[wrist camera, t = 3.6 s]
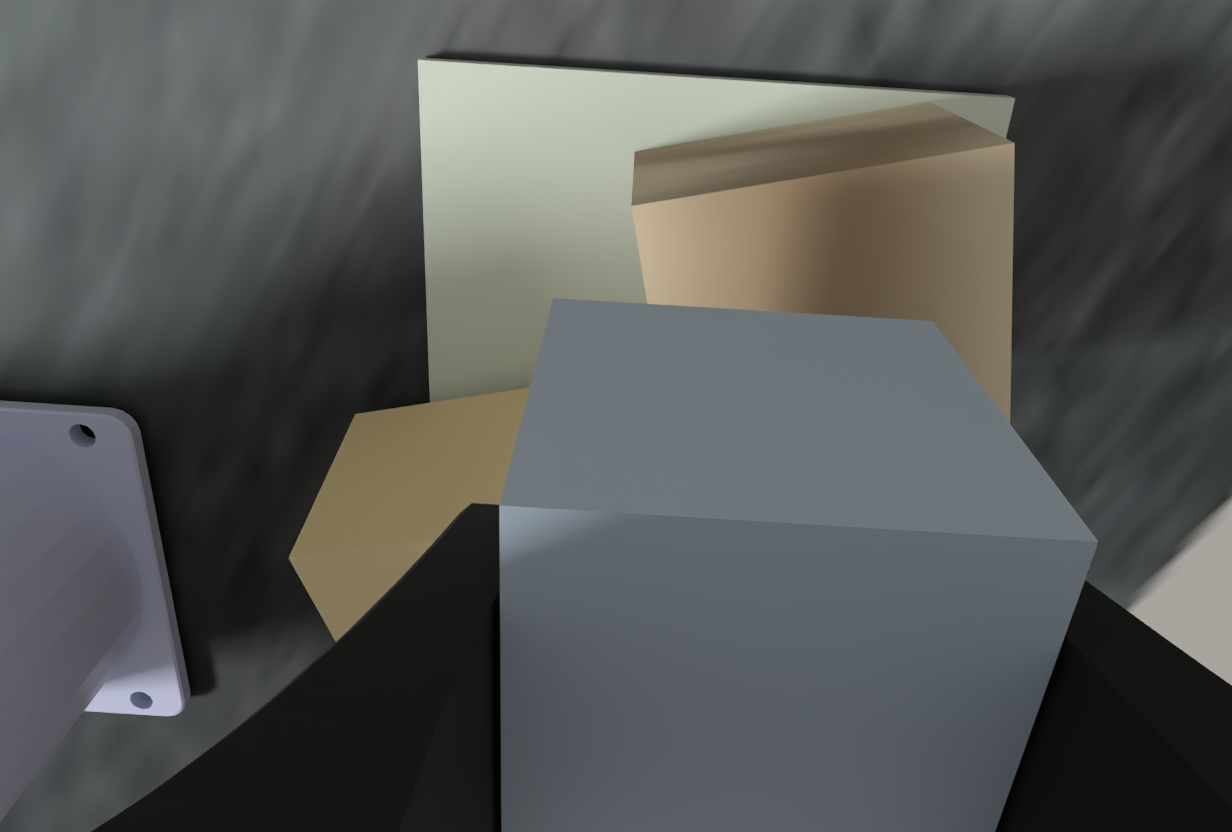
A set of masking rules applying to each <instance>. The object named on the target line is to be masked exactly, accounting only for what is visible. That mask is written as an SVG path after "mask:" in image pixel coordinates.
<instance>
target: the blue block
mask: <svg viewBox="0 0 1232 832" xmlns="http://www.w3.org/2000/svg"><path fill="white" fill-rule="evenodd" d="M499 539H500V694H501V832H995V831H996V828H997V825H998V822H999V819H1000V817H1001V814H1002V811H1003V808H1004V805H1005V803H1006V800H1007V797H1008V794H1009V791H1010V789H1011V786H1012V783H1013V780H1014V777H1015V775H1016V772H1017V769H1018V766H1019V763H1020V761H1021V758H1022V755H1023V752H1024V749H1025V747H1026V744H1027V741H1028V738H1029V735H1030V733H1031V730H1032V727H1033V724H1034V721H1035V719H1036V716H1037V713H1038V710H1039V707H1040V705H1041V702H1042V699H1043V696H1044V693H1045V691H1046V688H1047V685H1048V682H1049V679H1050V677H1051V674H1052V671H1053V668H1054V665H1055V663H1056V660H1057V657H1058V654H1059V651H1060V649H1061V646H1062V643H1063V640H1064V637H1065V635H1066V632H1067V629H1068V626H1069V623H1070V621H1071V618H1072V615H1073V612H1074V609H1075V607H1076V604H1077V601H1078V598H1079V595H1080V593H1081V590H1082V587H1083V584H1084V581H1085V579H1086V576H1087V573H1088V570H1089V567H1090V565H1091V562H1092V559H1093V556H1094V553H1095V551H1096V548H1097V545H1098V541H1097V539H1096V538H1095V537H1094V535H1093V534H1092V533H1091V531H1090V530H1089V529H1088V527H1087V526H1086V525H1085V523H1084V522H1083V521H1082V519H1081V518H1080V517H1079V515H1078V514H1077V513H1076V511H1075V510H1074V509H1073V507H1072V506H1071V505H1070V503H1069V502H1068V501H1067V499H1066V498H1065V497H1064V495H1063V494H1062V493H1061V491H1060V490H1059V489H1058V487H1057V486H1056V485H1055V483H1054V482H1053V481H1052V479H1051V478H1050V477H1049V475H1048V474H1047V473H1046V471H1045V470H1044V469H1043V467H1042V466H1041V465H1040V463H1039V462H1038V461H1037V459H1036V458H1035V457H1034V455H1033V454H1032V453H1031V451H1030V450H1029V449H1028V447H1027V446H1026V445H1025V443H1024V442H1023V441H1022V439H1021V438H1020V437H1019V435H1018V434H1017V433H1016V431H1015V430H1014V429H1013V427H1012V426H1011V425H1010V423H1009V422H1008V420H1007V419H1006V418H1005V416H1004V415H1003V414H1002V412H1001V411H1000V410H999V408H998V407H997V406H996V404H995V403H994V402H993V400H992V399H991V398H990V396H989V395H988V394H987V392H986V391H985V390H984V388H983V387H982V386H981V384H980V383H979V382H978V380H977V379H976V378H975V376H974V375H973V374H972V372H971V371H970V370H969V368H968V367H967V366H966V364H965V363H964V362H963V360H962V359H961V358H960V356H959V355H958V354H957V352H956V351H955V350H954V348H953V347H952V346H951V344H950V343H949V342H948V340H947V339H946V338H945V336H944V335H943V334H942V332H941V331H940V330H939V328H938V327H937V326H936V324H935V323H934V322H933V321H924V320H907V319H890V318H874V317H857V316H841V315H824V314H808V313H791V312H775V311H758V310H742V309H725V308H709V307H692V306H675V305H659V304H642V303H626V302H609V301H593V300H576V299H560V298H553V301H552V305H551V309H550V313H549V317H548V320H547V324H546V328H545V332H544V336H543V340H542V343H541V347H540V351H539V355H538V359H537V363H536V366H535V370H534V374H533V378H532V382H531V386H530V389H529V393H528V397H527V401H526V405H525V409H524V413H523V416H522V420H521V424H520V428H519V432H518V436H517V439H516V443H515V447H514V451H513V455H512V459H511V462H510V466H509V470H508V474H507V478H506V482H505V485H504V489H503V493H502V497H501V501H500V505H499Z"/></svg>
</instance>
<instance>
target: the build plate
mask: <svg viewBox="0 0 1232 832" xmlns="http://www.w3.org/2000/svg"><path fill="white" fill-rule="evenodd" d="M418 78H419V107H420V135H421V164H422V192H423V221H424V250H425V278H426V307H427V335H428V364H429V393H430V403H431V402H438V401H444V400H451V399H457V398H464V397H471V396H477V395H484V394H490V393H497V392H503V391H510V390H516V389H523V388H529V387H530V386H531V382H532V378H533V374H534V370H535V366H536V363H537V359H538V355H539V351H540V347H541V343H542V340H543V336H544V332H545V328H546V324H547V320H548V317H549V313H550V309H551V305H552V301H553V298H560V299H576V300H593V301H609V302H626V303H642V304H647V298H646V292H645V286H644V280H643V274H642V268H641V262H640V256H639V250H638V244H637V237H636V231H635V225H634V219H633V213H632V207H631V203H632V186H633V170H634V154H635V151H641V150H647V149H653V148H659V147H664V146H670V145H676V144H682V143H688V142H694V141H700V140H705V139H711V138H717V137H723V136H729V135H735V134H741V133H747V132H752V131H758V130H764V129H770V128H776V127H782V126H788V125H793V124H799V123H805V122H811V121H817V120H823V119H829V118H835V117H840V116H846V115H852V114H858V113H864V112H870V111H876V110H881V109H887V108H893V107H899V106H905V105H911V104H917V103H923V102H928V101H929V102H931V103H933V104H935V105H938V106H940V107H942V108H944V109H946V110H948V111H950V112H952V113H954V114H956V115H958V116H960V117H962V118H964V119H966V120H969V121H971V122H973V123H975V124H977V125H979V126H981V127H983V128H985V129H987V130H989V131H991V132H993V133H995V134H997V135H999V136H1002V137H1004V138H1006V136H1007V131H1008V127H1009V123H1010V119H1011V115H1012V110H1013V106H1014V102H1015V98H1013V97H1011V96H1008V95H996V94H981V93H965V92H949V91H934V90H918V89H903V88H887V87H872V86H856V85H841V84H825V83H810V82H794V81H779V80H763V79H747V78H732V77H716V76H701V75H685V74H670V73H654V72H639V71H623V70H608V69H592V68H577V67H561V66H545V65H530V64H514V63H499V62H483V61H468V60H452V59H437V58H421V59H419V60H418Z"/></svg>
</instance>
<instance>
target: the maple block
mask: <svg viewBox="0 0 1232 832" xmlns="http://www.w3.org/2000/svg"><path fill="white" fill-rule="evenodd" d="M1014 158H1015V143H1014V142H1012V141H1010V140H1008V139H1006V138H1004V137H1002V136H999V135H997V134H995V133H993V132H991V131H989V130H987V129H985V128H983V127H981V126H979V125H977V124H975V123H973V122H971V121H969V120H966V119H964V118H962V117H960V116H958V115H956V114H954V113H952V112H950V111H948V110H946V109H944V108H942V107H940V106H938V105H935V104H933V103H931V102H929V101H928V102H923V103H917V104H911V105H905V106H899V107H893V108H887V109H881V110H876V111H870V112H864V113H858V114H852V115H846V116H840V117H835V118H829V119H823V120H817V121H811V122H805V123H799V124H793V125H788V126H782V127H776V128H770V129H764V130H758V131H752V132H747V133H741V134H735V135H729V136H723V137H717V138H711V139H705V140H700V141H694V142H688V143H682V144H676V145H670V146H664V147H659V148H653V149H647V150H641V151H635V154H634V170H633V186H632V203H631V207H632V213H633V219H634V225H635V231H636V237H637V244H638V250H639V256H640V262H641V268H642V274H643V280H644V286H645V292H646V298H647V304H659V305H675V306H692V307H709V308H725V309H742V310H758V311H775V312H791V313H808V314H824V315H841V316H857V317H874V318H890V319H907V320H924V321H933V322H934V323H935V324H936V326H937V327H938V328H939V330H940V331H941V332H942V334H943V335H944V336H945V338H946V339H947V340H948V342H949V343H950V344H951V346H952V347H953V348H954V350H955V351H956V352H957V354H958V355H959V356H960V358H961V359H962V360H963V362H964V363H965V364H966V366H967V367H968V368H969V370H970V371H971V372H972V374H973V375H974V376H975V378H976V379H977V380H978V382H979V383H980V384H981V386H982V387H983V388H984V390H985V391H986V392H987V394H988V395H989V396H990V398H991V399H992V400H993V402H994V403H995V404H996V406H997V407H998V408H999V410H1000V411H1001V412H1002V414H1003V415H1004V416H1005V418H1006V419H1007V420H1008V422H1009V423H1010V404H1011V343H1012V281H1013V220H1014Z"/></svg>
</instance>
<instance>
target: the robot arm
mask: <svg viewBox="0 0 1232 832" xmlns="http://www.w3.org/2000/svg"><path fill="white" fill-rule="evenodd" d="M80 424H81V425H85V426H87V427H88V428H90V429H91V430H92V431H93V433H94V435H95V437H96V439H95V438H91V437H88V436H87V435H86V434H85V433H83V431H82V429H81V427H80ZM141 692H143V693H146V694H147V695H149V696H146V695H144V694H143V693H141ZM189 699H190V688H189V682H188V677H187V672H186V667H185V661H184V656H183V651H182V646H181V641H180V635H179V630H178V625H177V620H176V614H175V609H174V604H173V599H172V594H171V588H170V583H169V578H168V573H167V567H166V562H165V557H164V552H163V547H162V541H161V536H160V531H159V526H158V520H157V515H156V510H155V505H154V500H153V494H152V489H151V484H150V479H149V473H148V468H147V463H146V458H145V453H144V447H143V442H142V437H141V432H140V429H139V427H138V424H137V422H136V421H135V420H134V419H133V418H132V417H131V416H130V415H129V414H127V413H125V412H124V411H122V410H119V409H115V408H108V407H93V406H77V405H62V404H46V403H31V402H15V401H0V822H1V821H2V819H3V818H4V817H5V815H6V814H7V813H8V811H9V810H10V809H11V807H12V806H13V805H14V803H15V802H16V801H17V799H18V798H19V797H20V795H21V794H22V793H23V791H24V790H25V789H26V787H27V786H28V785H29V783H30V782H31V781H32V779H33V778H34V777H35V775H36V774H37V773H38V772H39V770H40V769H41V768H42V766H43V765H44V764H45V762H46V761H47V760H48V758H49V757H50V756H51V754H52V753H53V752H54V750H55V749H56V748H57V746H58V745H59V744H60V742H61V741H62V740H63V738H64V737H65V736H66V734H67V733H68V732H69V730H70V729H71V728H72V726H73V725H74V724H75V722H76V721H77V720H78V718H79V717H80V716H81V714H82V713H83V712H84V711H93V712H109V713H124V714H139V715H155V716H175V715H177V714H179V713H181V712H182V710H183V709H184V708H185V706H186V704H187V703H188V701H189ZM92 832H501V694H500V539H499V505H496V504H479V503H471V504H470V505H469V506H468V507H466V508H465V509H464V510H463V511H461V512H460V513H459V514H458V516H457V517H456V518H455V519H454V520H453V521H452V522H451V524H450V525H449V526H448V527H447V528H446V529H445V530H444V531H443V533H442V534H441V535H440V536H439V537H438V538H437V539H436V540H435V542H434V543H433V544H432V545H431V546H430V547H429V548H428V549H427V550H426V552H425V553H424V554H423V555H422V556H421V557H420V558H419V559H418V560H417V561H416V562H415V563H414V564H413V565H412V567H411V568H410V569H409V570H408V571H407V572H406V573H405V574H404V575H403V576H402V577H401V578H400V579H399V580H398V581H397V582H396V583H395V584H394V585H393V586H392V587H391V588H390V589H389V590H388V591H387V592H386V593H385V594H384V595H383V596H382V597H381V598H380V599H379V600H378V601H377V602H376V603H375V604H374V605H373V606H372V607H371V608H370V609H369V610H368V611H367V612H366V613H365V614H364V615H363V616H362V617H361V618H360V619H359V620H358V621H357V622H356V623H355V624H354V625H353V626H352V627H351V628H350V629H349V630H348V631H347V632H346V633H345V634H344V635H343V636H342V637H341V638H340V639H339V640H338V641H337V642H335V643H334V644H333V645H332V646H331V647H330V648H329V649H328V650H326V651H325V652H324V653H323V654H322V655H321V656H320V657H319V658H317V659H316V660H315V661H314V662H313V663H312V664H311V665H310V666H308V667H307V668H306V669H305V670H304V671H303V672H302V673H301V674H299V675H298V676H297V677H296V678H295V679H294V680H293V681H292V682H290V683H289V684H288V685H287V686H286V687H285V688H284V689H283V690H281V691H280V692H279V693H278V694H277V695H276V696H275V697H273V698H272V699H271V700H270V701H269V702H268V703H266V704H265V705H264V706H263V707H261V708H260V709H259V710H258V711H257V712H255V713H254V714H253V715H252V716H250V717H249V718H248V719H247V720H246V721H244V722H243V723H242V724H241V725H239V726H238V727H237V728H236V729H234V730H233V731H232V732H231V733H229V734H228V735H227V736H226V737H224V738H223V739H222V740H220V741H219V742H218V743H217V744H215V745H214V746H213V747H211V748H210V749H209V750H207V751H206V752H205V753H203V754H202V755H201V756H199V757H198V758H197V759H195V760H194V761H193V762H191V763H190V764H189V765H187V766H186V767H185V768H183V769H182V770H181V771H179V772H178V773H177V774H175V775H174V776H173V777H171V778H170V779H169V780H167V781H166V782H165V783H163V784H162V785H161V786H159V787H158V788H156V789H155V790H154V791H152V792H151V793H149V794H148V795H146V796H145V797H143V798H142V799H140V800H139V801H138V802H136V803H135V804H133V805H132V806H130V807H129V808H127V809H125V810H124V811H122V812H121V813H119V814H118V815H116V816H115V817H113V818H112V819H110V820H109V821H107V822H106V823H104V824H102V825H101V826H99V827H98V828H96V829H95V830H93V831H92ZM995 832H1232V686H1231V685H1230V684H1229V683H1227V682H1226V681H1224V680H1223V679H1221V678H1220V677H1219V676H1217V675H1216V674H1214V673H1213V672H1211V671H1210V670H1208V669H1207V668H1206V667H1204V666H1203V665H1201V664H1200V663H1199V662H1197V661H1196V660H1195V659H1193V658H1192V657H1190V656H1189V655H1188V654H1186V653H1185V652H1183V651H1182V650H1181V649H1179V648H1178V647H1176V646H1175V645H1174V644H1172V643H1171V642H1169V641H1168V640H1167V639H1165V638H1164V637H1162V636H1161V635H1160V634H1158V633H1157V632H1156V631H1154V630H1153V629H1151V628H1150V627H1149V626H1147V625H1146V624H1144V623H1143V622H1142V621H1140V620H1139V619H1138V618H1136V617H1135V616H1134V615H1132V614H1131V613H1129V612H1128V611H1127V610H1125V609H1124V608H1123V607H1121V606H1120V605H1118V604H1117V603H1116V602H1114V601H1113V600H1112V599H1110V598H1109V597H1107V596H1106V595H1105V594H1103V593H1102V592H1101V591H1099V590H1098V589H1096V588H1095V587H1094V586H1092V585H1091V584H1090V583H1088V582H1087V581H1084V584H1083V587H1082V590H1081V593H1080V595H1079V598H1078V601H1077V604H1076V607H1075V609H1074V612H1073V615H1072V618H1071V621H1070V623H1069V626H1068V629H1067V632H1066V635H1065V637H1064V640H1063V643H1062V646H1061V649H1060V651H1059V654H1058V657H1057V660H1056V663H1055V665H1054V668H1053V671H1052V674H1051V677H1050V679H1049V682H1048V685H1047V688H1046V691H1045V693H1044V696H1043V699H1042V702H1041V705H1040V707H1039V710H1038V713H1037V716H1036V719H1035V721H1034V724H1033V727H1032V730H1031V733H1030V735H1029V738H1028V741H1027V744H1026V747H1025V749H1024V752H1023V755H1022V758H1021V761H1020V763H1019V766H1018V769H1017V772H1016V775H1015V777H1014V780H1013V783H1012V786H1011V789H1010V791H1009V794H1008V797H1007V800H1006V803H1005V805H1004V808H1003V811H1002V814H1001V817H1000V819H999V822H998V825H997V828H996V831H995Z"/></svg>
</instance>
